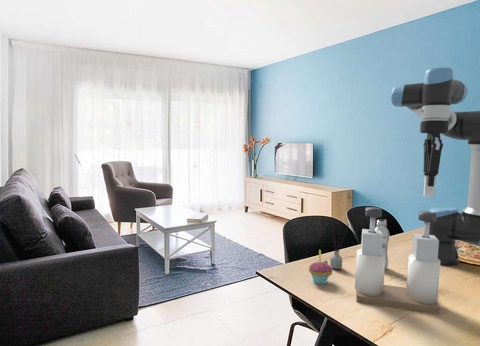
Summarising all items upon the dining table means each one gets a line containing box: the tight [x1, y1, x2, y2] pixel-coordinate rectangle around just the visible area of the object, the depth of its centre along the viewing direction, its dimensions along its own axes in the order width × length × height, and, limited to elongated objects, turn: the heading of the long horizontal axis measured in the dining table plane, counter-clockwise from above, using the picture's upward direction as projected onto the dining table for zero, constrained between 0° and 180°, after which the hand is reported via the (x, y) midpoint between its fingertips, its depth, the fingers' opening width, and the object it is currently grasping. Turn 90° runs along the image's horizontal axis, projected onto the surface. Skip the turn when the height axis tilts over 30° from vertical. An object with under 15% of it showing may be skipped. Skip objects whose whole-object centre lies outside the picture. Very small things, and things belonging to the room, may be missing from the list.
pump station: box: [354, 228, 441, 315], centre depth 111 cm, size 25×12×22 cm, turn 73°
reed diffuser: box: [322, 219, 350, 270], centre depth 136 cm, size 10×7×20 cm
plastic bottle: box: [375, 219, 390, 270], centre depth 137 cm, size 6×7×20 cm
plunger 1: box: [364, 206, 383, 233], centre depth 111 cm, size 5×5×9 cm
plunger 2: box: [418, 210, 437, 238], centre depth 107 cm, size 5×5×9 cm
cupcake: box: [308, 250, 334, 285], centre depth 124 cm, size 9×8×12 cm
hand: (428, 196), depth 105 cm, fingers closed
